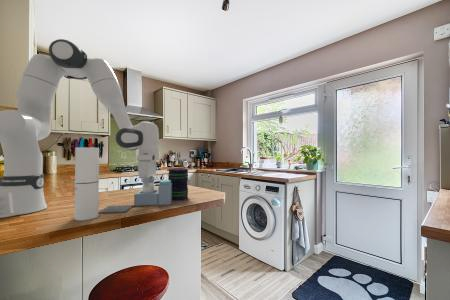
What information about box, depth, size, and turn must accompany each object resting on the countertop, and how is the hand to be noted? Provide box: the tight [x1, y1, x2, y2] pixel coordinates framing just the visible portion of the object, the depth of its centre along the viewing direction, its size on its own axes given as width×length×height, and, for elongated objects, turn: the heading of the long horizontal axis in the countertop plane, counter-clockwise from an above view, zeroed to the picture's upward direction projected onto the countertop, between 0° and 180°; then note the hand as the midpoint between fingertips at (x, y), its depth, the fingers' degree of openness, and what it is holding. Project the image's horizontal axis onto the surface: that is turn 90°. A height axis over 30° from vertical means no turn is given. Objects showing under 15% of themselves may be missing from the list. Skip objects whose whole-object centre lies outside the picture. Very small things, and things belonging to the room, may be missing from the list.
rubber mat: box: [98, 204, 134, 215], centre depth 84 cm, size 10×10×1 cm
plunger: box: [159, 179, 171, 185], centre depth 94 cm, size 4×4×7 cm
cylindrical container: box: [73, 146, 100, 221], centre depth 74 cm, size 7×7×25 cm
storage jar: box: [168, 168, 189, 202], centre depth 105 cm, size 10×10×15 cm
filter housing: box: [133, 183, 172, 207], centre depth 96 cm, size 16×11×9 cm
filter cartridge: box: [141, 176, 155, 193], centre depth 96 cm, size 5×5×11 cm
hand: (148, 185), depth 96 cm, fingers closed on filter cartridge, 5 cm apart
